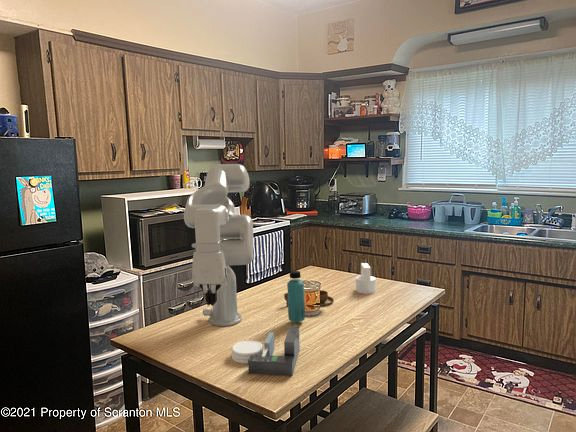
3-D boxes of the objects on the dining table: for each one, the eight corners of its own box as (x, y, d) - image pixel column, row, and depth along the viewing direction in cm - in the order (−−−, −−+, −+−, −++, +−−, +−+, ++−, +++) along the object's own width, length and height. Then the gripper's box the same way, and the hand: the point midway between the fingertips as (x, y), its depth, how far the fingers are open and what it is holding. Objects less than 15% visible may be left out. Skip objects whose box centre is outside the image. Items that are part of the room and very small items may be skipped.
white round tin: (233, 366, 133) (232, 355, 132) (230, 352, 142) (230, 341, 142) (265, 362, 135) (265, 351, 134) (260, 348, 144) (260, 338, 144)
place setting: (330, 311, 177) (330, 297, 176) (283, 309, 182) (282, 295, 181) (336, 297, 194) (335, 285, 193) (292, 295, 199) (292, 283, 198)
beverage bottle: (303, 326, 161) (302, 274, 158) (286, 325, 162) (284, 273, 160) (306, 319, 167) (305, 269, 165) (289, 319, 169) (288, 269, 166)
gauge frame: (248, 373, 127) (247, 347, 126) (260, 348, 144) (259, 325, 143) (292, 375, 125) (291, 349, 124) (299, 349, 142) (299, 326, 141)
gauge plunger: (261, 369, 128) (260, 351, 127) (269, 349, 141) (269, 332, 140) (266, 369, 128) (265, 351, 127) (274, 349, 141) (273, 332, 140)
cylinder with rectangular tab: (377, 293, 196) (377, 267, 195) (357, 293, 197) (357, 268, 195) (373, 287, 205) (373, 262, 204) (354, 287, 205) (354, 263, 204)
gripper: (180, 249, 133) (184, 307, 135) (228, 250, 130) (231, 308, 133) (189, 244, 140) (193, 299, 142) (235, 244, 138) (237, 300, 140)
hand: (211, 303), depth 138 cm, fingers closed
